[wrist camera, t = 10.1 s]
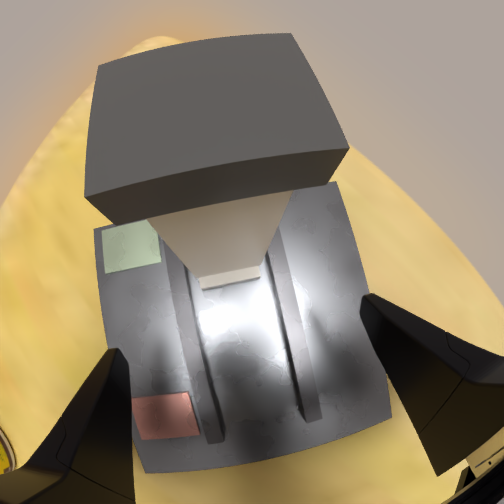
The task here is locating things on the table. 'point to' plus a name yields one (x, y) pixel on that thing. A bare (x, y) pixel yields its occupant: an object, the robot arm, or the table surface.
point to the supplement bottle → (6, 455)
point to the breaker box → (243, 342)
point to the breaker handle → (210, 146)
